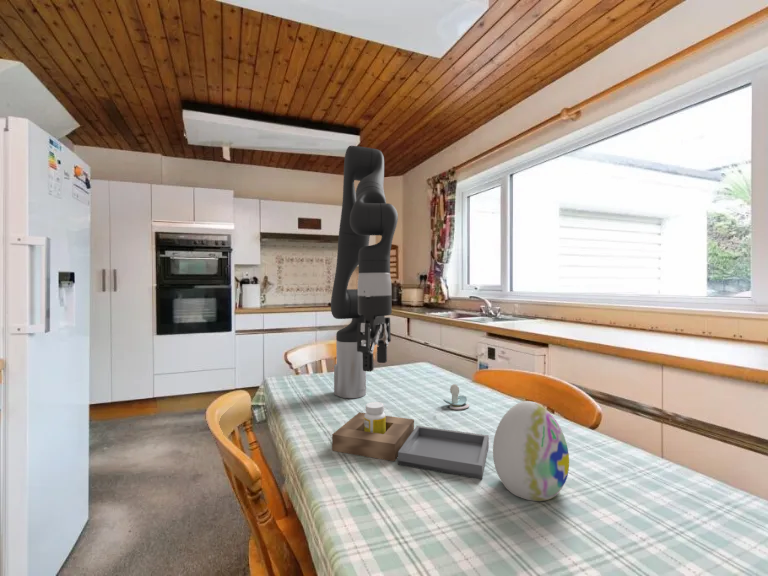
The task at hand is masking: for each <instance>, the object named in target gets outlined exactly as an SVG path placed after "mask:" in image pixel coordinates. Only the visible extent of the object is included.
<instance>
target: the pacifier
mask: <svg viewBox="0 0 768 576" xmlns="http://www.w3.org/2000/svg"><path fill="white" fill-rule="evenodd" d="M449 391H450V394H451V401H450V400H445V399H443V401H442V402H444V403H446V404H448V405H449V409H451V410H454V411H458V410H459V411H462V410H466V409H469V407H470V404H468V403H467V402H468V401H467V400H468V399H467V396H465V395H460V388H459V386H458V384H456V383H454V384H452V385H450V388H449Z"/></svg>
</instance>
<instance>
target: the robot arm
mask: <svg viewBox="0 0 768 576" xmlns="http://www.w3.org/2000/svg"><path fill="white" fill-rule="evenodd" d="M343 160H344V163H343V181H342V183H343V185H342V186H343V187H342V203H341V204H342V205H341V213H340V222H339V229H338V230H339V231H338V238H337V239H338V240H337V255H336V256H337V257H336V267H335V274H334V280H333V286H332V291H331V292H332V293H331V299H330V313H331V316H332V317H333V318H334V319H336V320H349V319H351V322H350V323H349V324H348V325H346V326H345V327H342V328H341V329H339V330H337V332H336V334H335V335H336V336H335V337H336V339H335V340H336V341H335V343H336V363H335V364H334V365H333V380H334V381H333V395H334V396H336V397H339V398H341V399H342V398H344V399H357V398H362V397H365V396H366V393H367V372H373V371H374V350H375V346H376V362H377V363H378V364H379V363H380V364H385V363H387V362H388V346H389V343H391V341H392V338H391V335H392V333H391V317H389V316H390V315H392V311H393V309H392V308H393V307H392V306H393V305H392V302H393V301H392V297H393V296H392V294H393V293H392V288H393V287H392V278H391V250H392V244H393V239H394V236H395V232H396V229H397V225H398V220H399V214H398V211H397V209H396V207H395V206H394V205H393V204H392V203H387V199H386V193H385V190H384V181H385V157H384V154H383V152H382V150H379V149H377V148H371V147H366V146H365V147H364V146H359V145H358V146H357V145H349V146H348V147H347V148H346V151H345V155H344V159H343ZM355 181H358V184H357V186H356V188H355ZM370 236H381V238H380V241H379V242H377V243H375V244H372V245H371V244H370ZM357 267H358V275H357V276H358V278H357V289H356V288H353V289H348V288H349V287H348V285H349V282H350V279H351V277H352V275H353V273H354V272H355V270H356V269H357ZM385 316H386V317H385Z"/></svg>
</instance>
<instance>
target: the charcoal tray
mask: <svg viewBox="0 0 768 576" xmlns="http://www.w3.org/2000/svg"><path fill="white" fill-rule="evenodd" d="M489 438H490V436H489V435H487V434H482V433H481V434H480V433H475V432H468V431H467V432H465V431H458V430H450V429H445V428H436V427H430V426H429V427H427V426H422V425H416V426H415V427H414V430H413V432H412V433H411V435H410V436H409V437H408V439H407V440H406V442H405V443H404V444H403V446H402V447H401V449H400V450H399V451H398V458H397V465H398V466H403V467H404V466H405V467H408V468H414V469H415V468H416V469H421V470H427V471H432V472H438V473H444V474H450V475H455V476H460V477H467V478H471V479H472V478H473V479H479V480H483V477H484V471H485V467H486V462H487V457H488V451H489V447H490V446H489V443H490V442H489Z"/></svg>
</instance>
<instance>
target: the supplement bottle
mask: <svg viewBox="0 0 768 576" xmlns="http://www.w3.org/2000/svg"><path fill="white" fill-rule="evenodd" d="M384 411H385V405H384V403H383V402H379V401H372V402H367V403H366V404H365V412H364V413H365V415H364V431H366V432H372V433H379V434H384V433H385V432H386V416H387V415H386V413H385V412H384Z"/></svg>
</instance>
